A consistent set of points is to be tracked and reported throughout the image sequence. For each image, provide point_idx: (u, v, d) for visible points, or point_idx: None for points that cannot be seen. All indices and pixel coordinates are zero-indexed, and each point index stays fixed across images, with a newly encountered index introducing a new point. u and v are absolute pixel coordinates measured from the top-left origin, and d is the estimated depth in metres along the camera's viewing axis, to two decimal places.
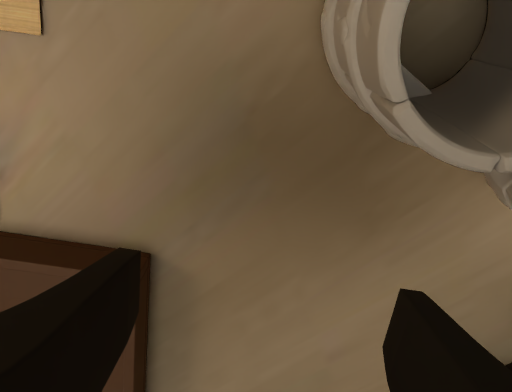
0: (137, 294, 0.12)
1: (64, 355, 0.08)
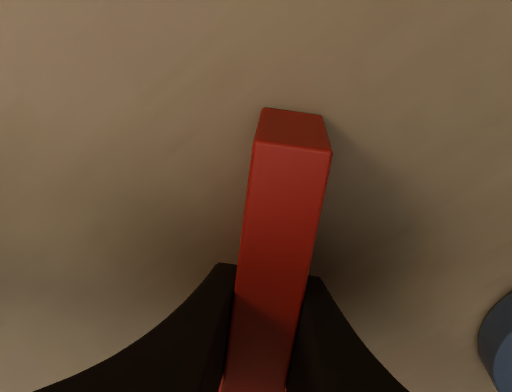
0: None
1: (209, 376, 0.08)
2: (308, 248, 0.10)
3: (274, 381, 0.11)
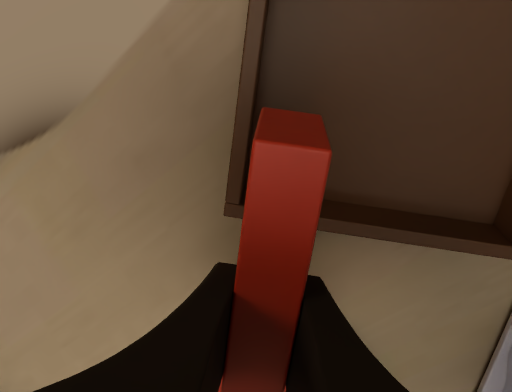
0: None
1: (209, 376, 0.08)
2: (307, 248, 0.10)
3: (273, 381, 0.11)
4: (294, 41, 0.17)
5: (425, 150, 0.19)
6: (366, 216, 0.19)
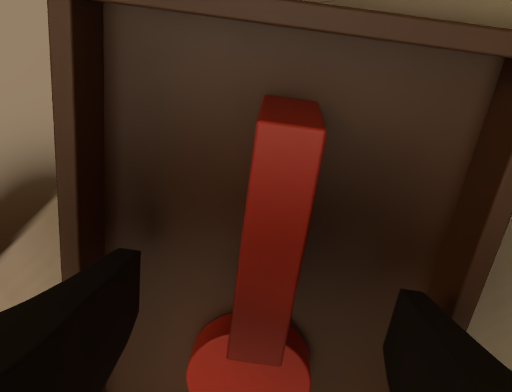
0: (137, 294, 0.12)
1: (64, 355, 0.08)
2: (305, 218, 0.11)
3: (274, 342, 0.12)
4: None
5: None
6: None
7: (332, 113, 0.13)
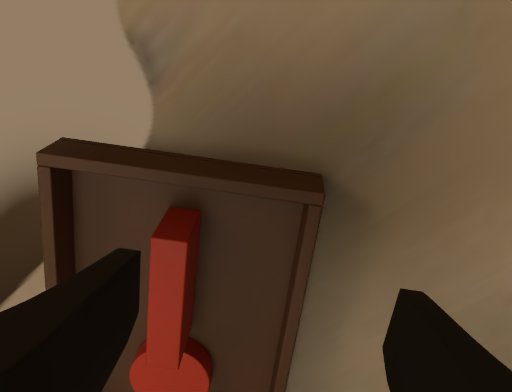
0: (137, 294, 0.12)
1: (64, 355, 0.08)
2: (181, 287, 0.19)
3: (172, 355, 0.21)
4: None
5: None
6: None
7: (210, 217, 0.22)
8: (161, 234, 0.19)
